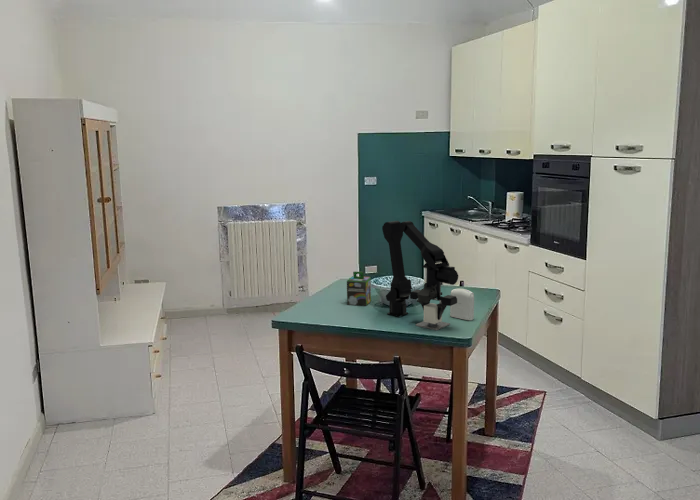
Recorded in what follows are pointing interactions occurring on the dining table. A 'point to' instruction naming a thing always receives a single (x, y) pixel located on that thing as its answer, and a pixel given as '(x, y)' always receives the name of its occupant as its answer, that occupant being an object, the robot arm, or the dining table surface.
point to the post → (432, 325)
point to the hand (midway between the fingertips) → (432, 318)
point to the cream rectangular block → (431, 313)
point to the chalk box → (358, 290)
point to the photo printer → (462, 304)
